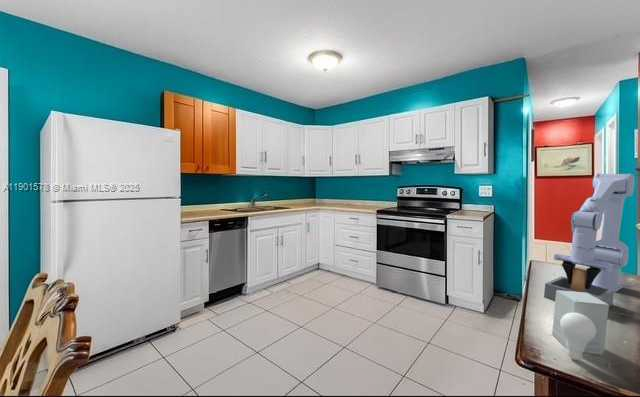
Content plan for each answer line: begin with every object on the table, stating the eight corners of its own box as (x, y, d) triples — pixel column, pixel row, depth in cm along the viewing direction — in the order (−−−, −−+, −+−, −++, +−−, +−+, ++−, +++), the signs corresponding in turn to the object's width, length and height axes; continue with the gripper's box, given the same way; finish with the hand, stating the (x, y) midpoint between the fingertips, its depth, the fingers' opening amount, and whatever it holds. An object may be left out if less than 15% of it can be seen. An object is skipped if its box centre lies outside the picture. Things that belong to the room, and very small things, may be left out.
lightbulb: (584, 371, 61) (590, 323, 60) (551, 355, 67) (556, 310, 66) (597, 363, 64) (602, 317, 63) (564, 348, 70) (568, 305, 69)
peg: (572, 289, 99) (575, 267, 98) (588, 293, 96) (590, 270, 95) (568, 291, 97) (571, 269, 96) (583, 296, 94) (586, 272, 93)
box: (560, 289, 106) (561, 276, 106) (612, 304, 94) (614, 290, 94) (543, 297, 99) (545, 283, 98) (597, 314, 87) (599, 299, 86)
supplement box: (604, 355, 67) (610, 305, 66) (568, 351, 69) (574, 301, 67) (582, 338, 74) (587, 292, 73) (550, 334, 76) (555, 289, 75)
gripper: (551, 243, 99) (548, 280, 100) (609, 254, 87) (604, 296, 88) (560, 241, 103) (556, 277, 104) (616, 251, 90) (611, 292, 91)
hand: (578, 285), depth 96 cm, fingers closed on peg, 4 cm apart
